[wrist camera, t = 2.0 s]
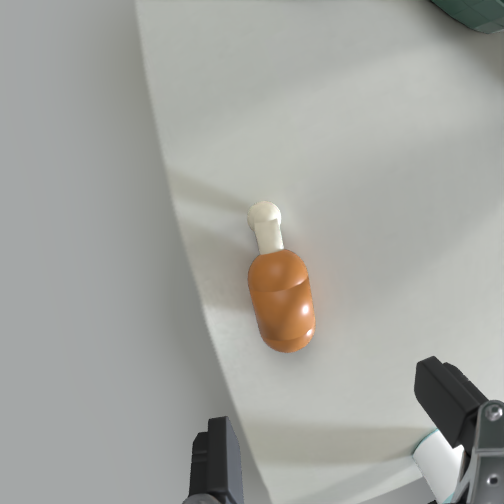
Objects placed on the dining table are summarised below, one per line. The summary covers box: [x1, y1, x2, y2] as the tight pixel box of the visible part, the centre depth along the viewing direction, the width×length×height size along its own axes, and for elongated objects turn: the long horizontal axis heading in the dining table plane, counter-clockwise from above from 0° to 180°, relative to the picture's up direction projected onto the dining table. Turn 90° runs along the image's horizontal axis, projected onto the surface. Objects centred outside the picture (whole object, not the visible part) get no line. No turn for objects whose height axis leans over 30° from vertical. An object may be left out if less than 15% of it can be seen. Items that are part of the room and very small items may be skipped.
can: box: [413, 429, 464, 504], centre depth 26 cm, size 7×7×12 cm
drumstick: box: [247, 201, 315, 353], centre depth 21 cm, size 11×4×4 cm, turn 12°
